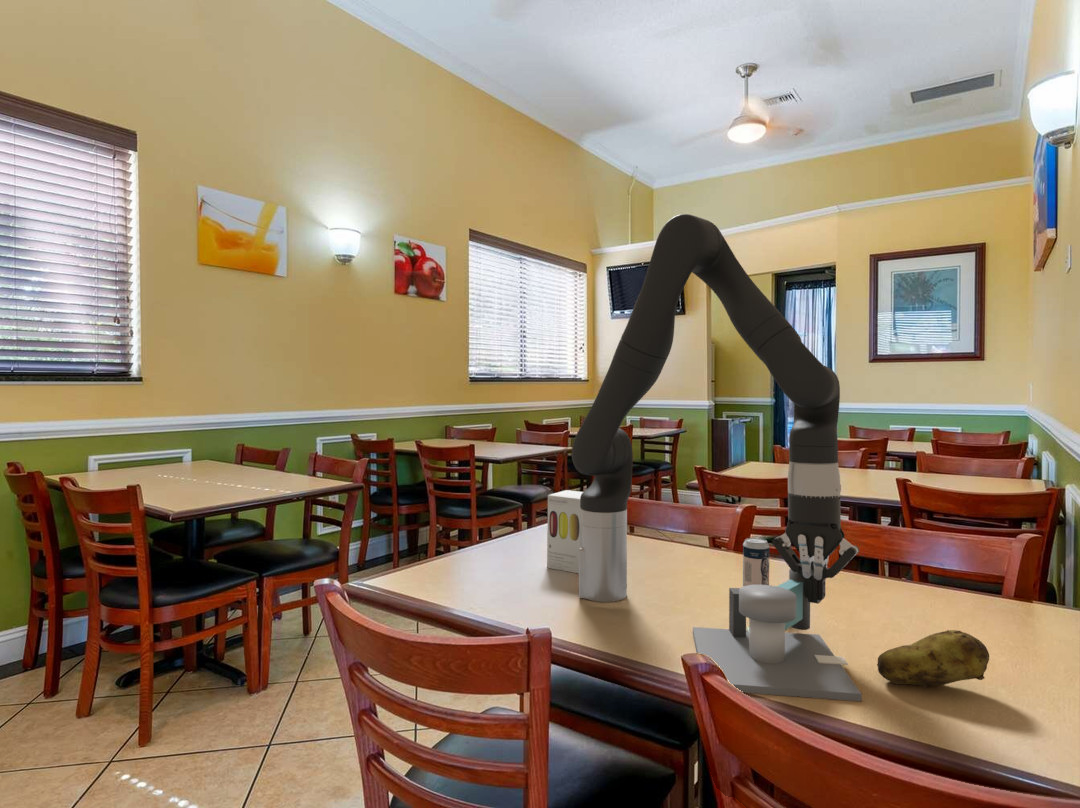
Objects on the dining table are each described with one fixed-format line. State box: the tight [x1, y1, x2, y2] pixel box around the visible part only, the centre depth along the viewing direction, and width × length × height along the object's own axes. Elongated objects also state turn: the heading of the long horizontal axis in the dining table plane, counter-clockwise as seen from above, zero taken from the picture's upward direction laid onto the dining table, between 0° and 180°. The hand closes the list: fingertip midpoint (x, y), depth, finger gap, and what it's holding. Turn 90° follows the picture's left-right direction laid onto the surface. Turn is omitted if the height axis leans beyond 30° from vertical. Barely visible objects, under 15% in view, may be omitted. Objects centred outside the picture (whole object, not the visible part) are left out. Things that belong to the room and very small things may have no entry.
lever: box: [739, 569, 811, 631], centre depth 96 cm, size 18×8×9 cm, turn 136°
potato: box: [876, 629, 990, 687], centre depth 86 cm, size 8×13×8 cm, turn 57°
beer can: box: [742, 537, 770, 587], centre depth 119 cm, size 5×5×12 cm
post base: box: [692, 587, 862, 702], centre depth 94 cm, size 21×21×8 cm
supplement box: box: [546, 489, 584, 575], centre depth 144 cm, size 10×9×17 cm
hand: (814, 601), depth 98 cm, fingers closed
